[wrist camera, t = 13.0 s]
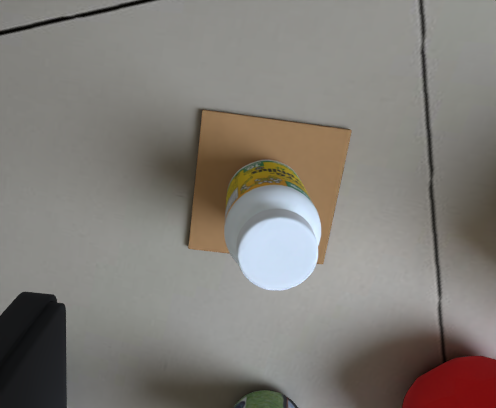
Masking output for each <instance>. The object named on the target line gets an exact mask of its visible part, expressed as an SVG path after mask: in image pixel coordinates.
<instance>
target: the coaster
mask: <svg viewBox="0 0 496 408" xmlns="http://www.w3.org/2000/svg"><path fill="white" fill-rule="evenodd" d="M350 136H351V130H349V129H342V128H335V127H327V126H320V125H313V124H306V123H298V122H291V121H284V120H276V119H269V118H262V117H254V116H247V115H240V114H232V113H225V112H218V111H210V110H202V118H201V128H200V138H199V148H198V157H197V167H196V177H195V187H194V197H193V207H192V217H191V227H190V237H189V246H188V249H195V250H204V251H212V252H221V253H229V251H228V248H227V246H226V242H225V236H224V225H225V210H226V196H227V189H228V186H229V183H230V181H231V179H232V177H233V176H234V175H235V174H236V172H237V171H238V170H240V169H241V168H242V167H244V166H246V165H248V164H250V163H253V162H256V161H259V160H274V161H278V162H281V163H283V164H285V165H287V166H289V167H290V168H291V169H293V170H294V172H295V173H296V174H297V175H298V177H299V179H300V180H301V182H302V184H303V186H304V187H305V189H306V191H307V193H308V195H309V197H310V199H311V201H312V203H313V204H314V206H315V208H316V209H317V212H318V215H319V218H320V222H321V238H320V242H319V245H318V259H317V263H316V264H323V262H324V258H325V253H326V248H327V244H328V239H329V234H330V230H331V225H332V220H333V216H334V211H335V206H336V202H337V197H338V192H339V188H340V183H341V178H342V174H343V169H344V164H345V159H346V155H347V150H348V145H349V141H350ZM229 254H230V253H229Z"/></svg>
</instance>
